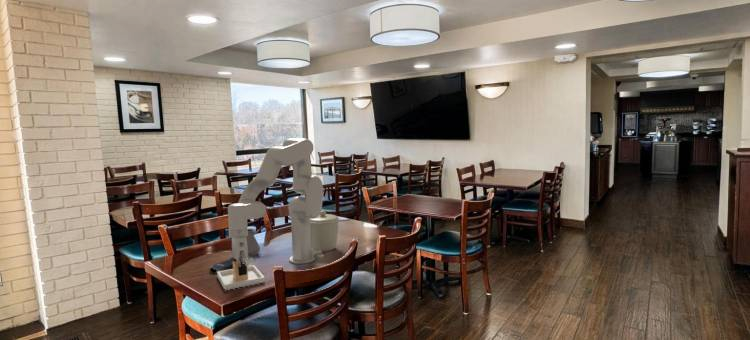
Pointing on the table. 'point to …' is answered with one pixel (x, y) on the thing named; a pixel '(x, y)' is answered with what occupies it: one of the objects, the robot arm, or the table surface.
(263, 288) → the table surface
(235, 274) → the block
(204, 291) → the table surface
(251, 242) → the coffee pot
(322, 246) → the canister
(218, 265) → the electronic device
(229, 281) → the tray
